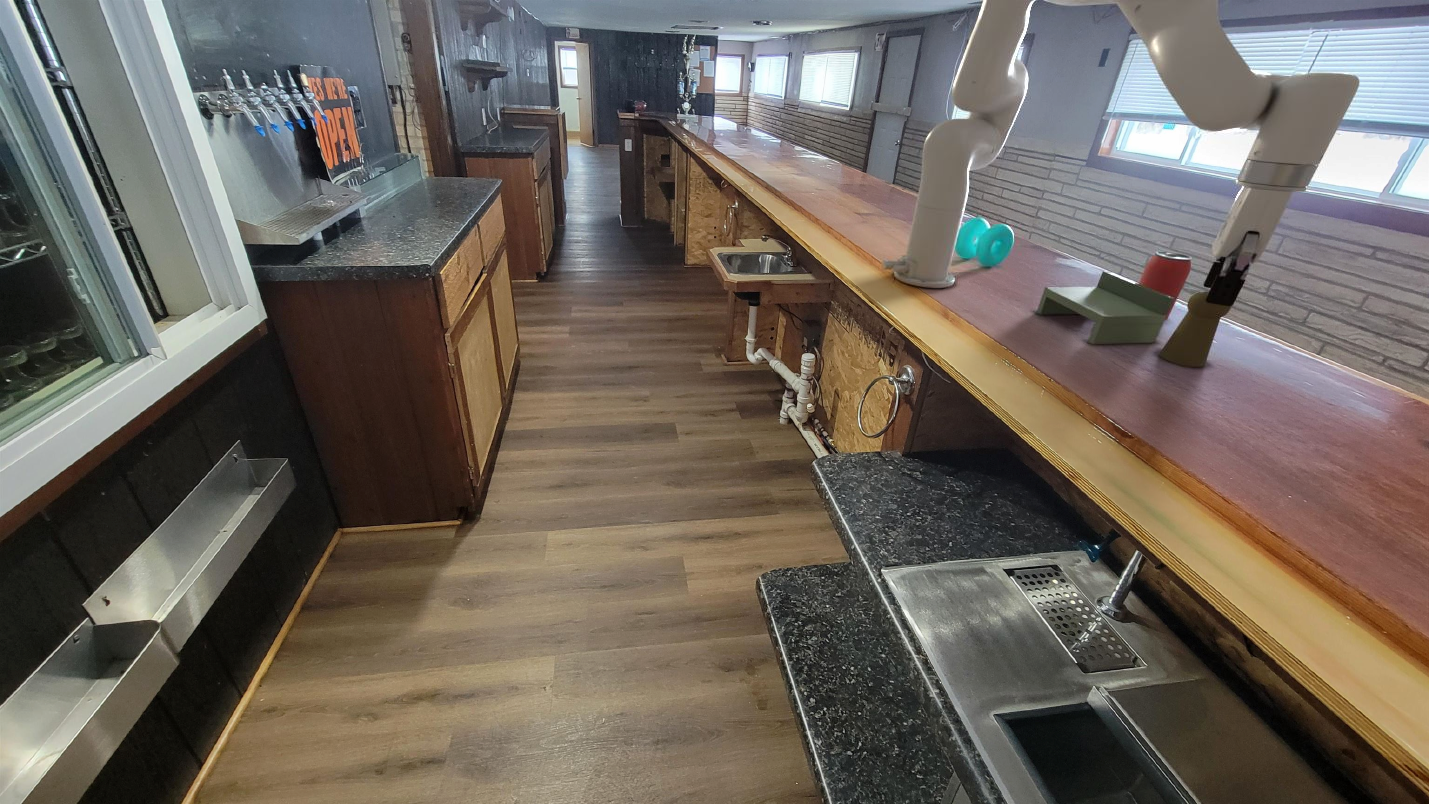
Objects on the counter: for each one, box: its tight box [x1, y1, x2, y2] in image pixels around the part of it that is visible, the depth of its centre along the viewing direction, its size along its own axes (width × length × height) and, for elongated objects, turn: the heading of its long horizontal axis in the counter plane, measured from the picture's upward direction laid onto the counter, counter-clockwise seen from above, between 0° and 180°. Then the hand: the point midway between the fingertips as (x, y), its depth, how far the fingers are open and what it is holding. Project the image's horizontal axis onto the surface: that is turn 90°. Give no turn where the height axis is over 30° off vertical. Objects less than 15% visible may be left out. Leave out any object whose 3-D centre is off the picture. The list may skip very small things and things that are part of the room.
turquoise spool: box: [954, 216, 1015, 268], centre depth 135 cm, size 10×10×10 cm
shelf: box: [1036, 270, 1175, 345], centre depth 101 cm, size 12×15×8 cm
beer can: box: [1138, 250, 1193, 322], centre depth 105 cm, size 7×7×12 cm
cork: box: [1159, 290, 1232, 368], centre depth 89 cm, size 6×6×11 cm
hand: (1216, 296), depth 86 cm, fingers open, 9 cm apart
